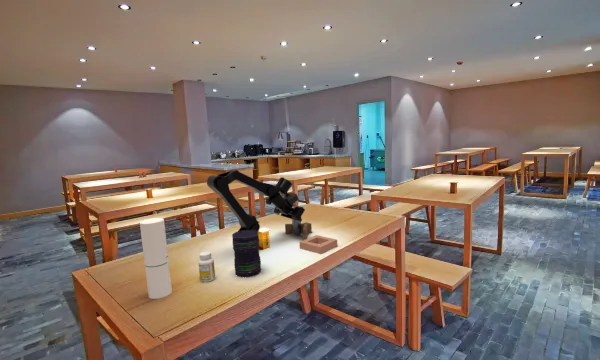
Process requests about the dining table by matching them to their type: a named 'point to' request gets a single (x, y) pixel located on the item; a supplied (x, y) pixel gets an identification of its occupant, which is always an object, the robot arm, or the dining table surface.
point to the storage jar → (246, 253)
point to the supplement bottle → (206, 267)
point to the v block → (305, 229)
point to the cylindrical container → (156, 257)
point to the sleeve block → (318, 244)
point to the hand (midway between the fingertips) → (298, 219)
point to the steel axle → (296, 226)
